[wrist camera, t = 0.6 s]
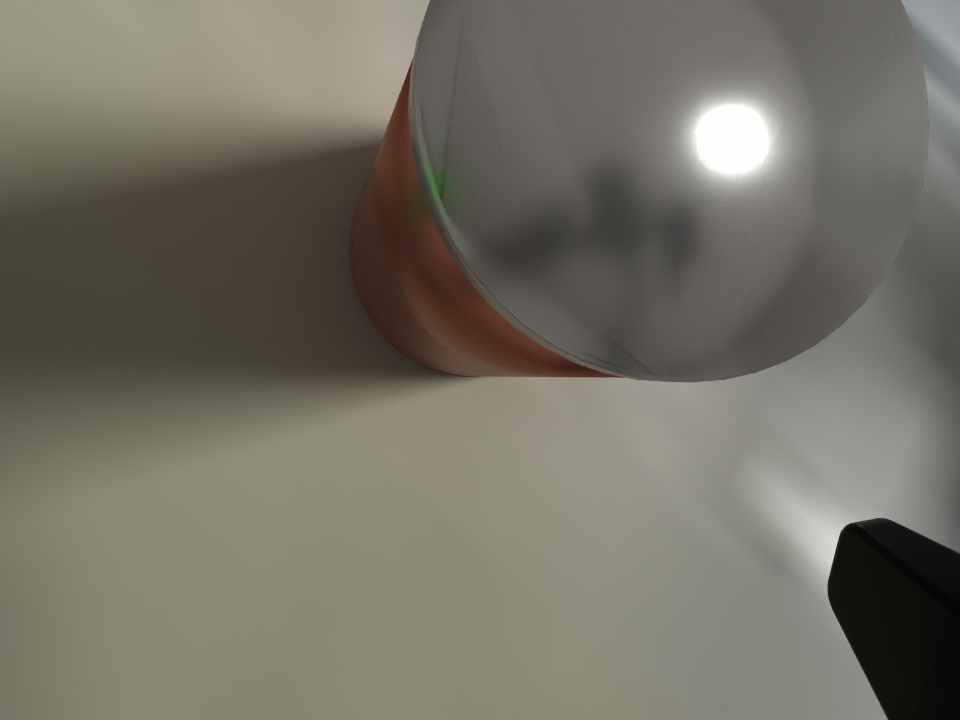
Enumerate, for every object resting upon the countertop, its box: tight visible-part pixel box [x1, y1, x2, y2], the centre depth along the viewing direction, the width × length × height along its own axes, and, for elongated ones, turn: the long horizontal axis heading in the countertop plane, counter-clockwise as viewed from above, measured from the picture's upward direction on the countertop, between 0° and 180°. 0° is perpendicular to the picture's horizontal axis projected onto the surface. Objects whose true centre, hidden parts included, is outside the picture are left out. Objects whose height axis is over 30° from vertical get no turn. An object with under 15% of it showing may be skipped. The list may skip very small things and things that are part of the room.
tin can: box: [350, 0, 929, 382], centre depth 17 cm, size 6×6×13 cm
